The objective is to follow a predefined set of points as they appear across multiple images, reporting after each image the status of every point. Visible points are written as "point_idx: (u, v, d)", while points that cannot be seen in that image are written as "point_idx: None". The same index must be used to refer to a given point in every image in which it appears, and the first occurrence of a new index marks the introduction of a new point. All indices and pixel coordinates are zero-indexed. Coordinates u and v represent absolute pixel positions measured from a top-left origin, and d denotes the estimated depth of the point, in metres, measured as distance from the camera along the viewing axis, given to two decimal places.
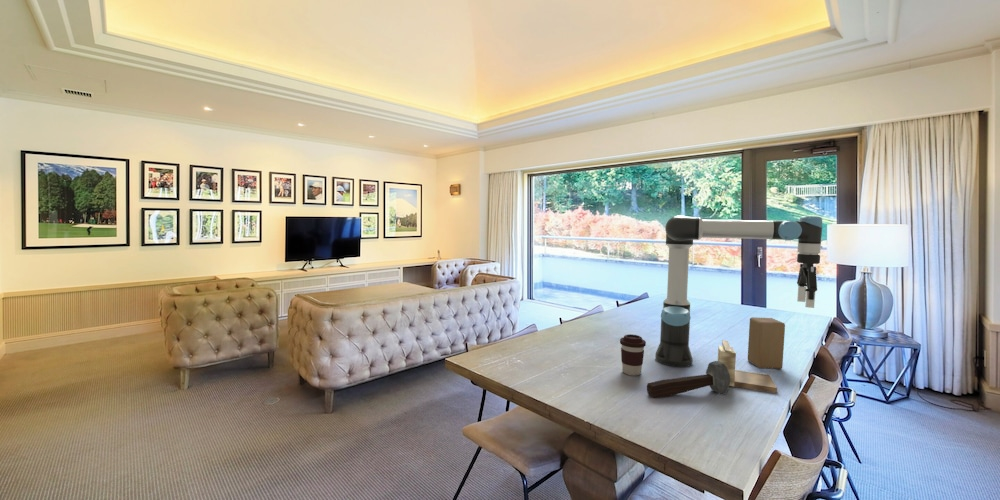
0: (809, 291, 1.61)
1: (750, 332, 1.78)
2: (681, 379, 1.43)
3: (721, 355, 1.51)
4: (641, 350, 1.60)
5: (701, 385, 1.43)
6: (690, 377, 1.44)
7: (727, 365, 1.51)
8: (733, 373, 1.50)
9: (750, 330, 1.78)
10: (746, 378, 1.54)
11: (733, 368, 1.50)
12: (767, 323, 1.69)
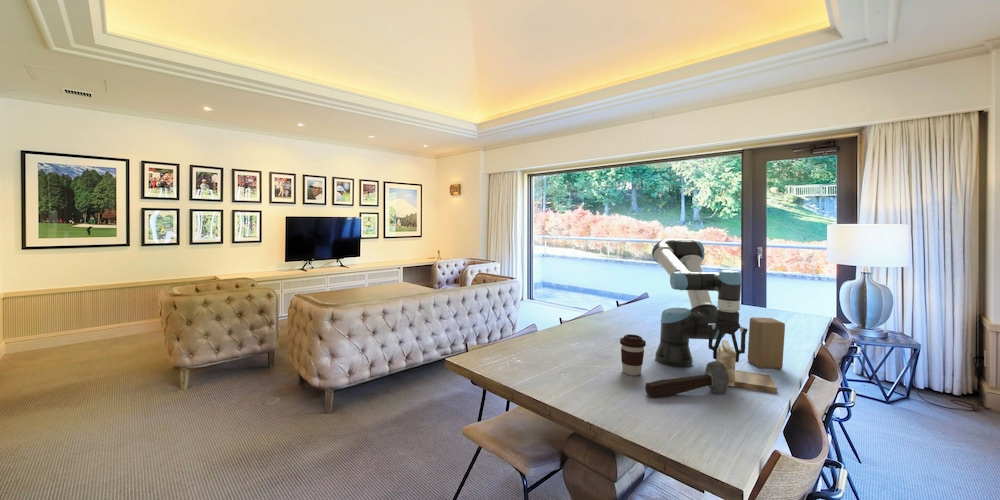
0: None
1: (750, 332, 1.78)
2: (680, 379, 1.43)
3: (721, 355, 1.51)
4: (641, 350, 1.60)
5: (700, 385, 1.43)
6: (689, 377, 1.44)
7: (727, 365, 1.51)
8: (733, 373, 1.50)
9: (750, 330, 1.78)
10: (746, 378, 1.54)
11: (733, 368, 1.50)
12: (767, 323, 1.69)
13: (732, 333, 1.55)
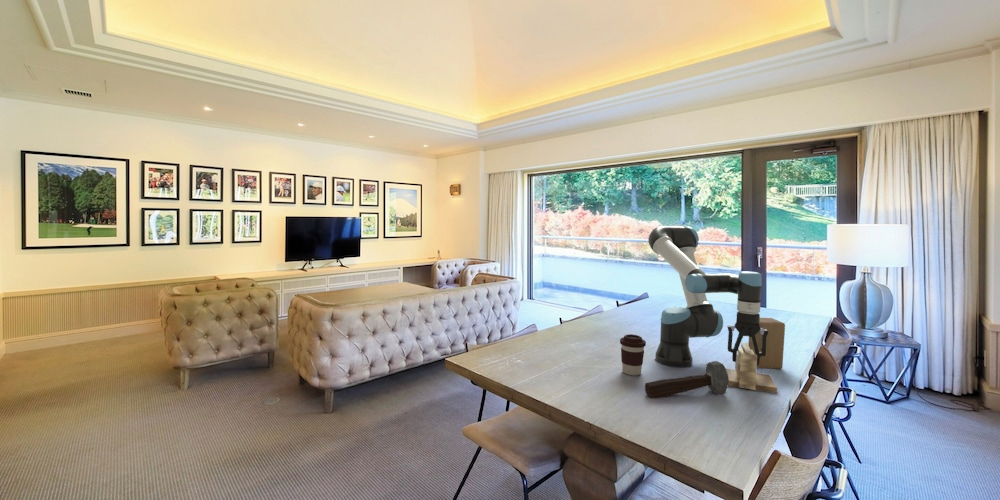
0: None
1: None
2: (679, 379, 1.43)
3: (742, 358, 1.49)
4: (641, 350, 1.60)
5: (699, 385, 1.43)
6: (688, 377, 1.44)
7: (748, 368, 1.48)
8: (754, 376, 1.47)
9: None
10: None
11: (754, 371, 1.47)
12: (767, 323, 1.69)
13: (752, 335, 1.53)
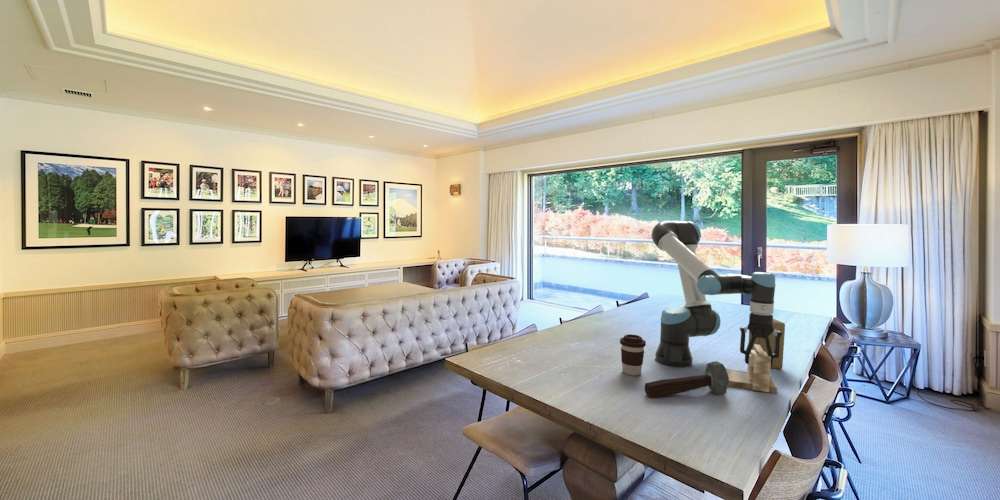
0: None
1: (750, 332, 1.78)
2: (679, 379, 1.43)
3: (755, 360, 1.47)
4: (641, 350, 1.60)
5: (699, 385, 1.43)
6: (688, 377, 1.44)
7: (762, 370, 1.46)
8: (768, 378, 1.45)
9: None
10: (746, 378, 1.54)
11: (768, 373, 1.45)
12: None
13: (766, 337, 1.51)
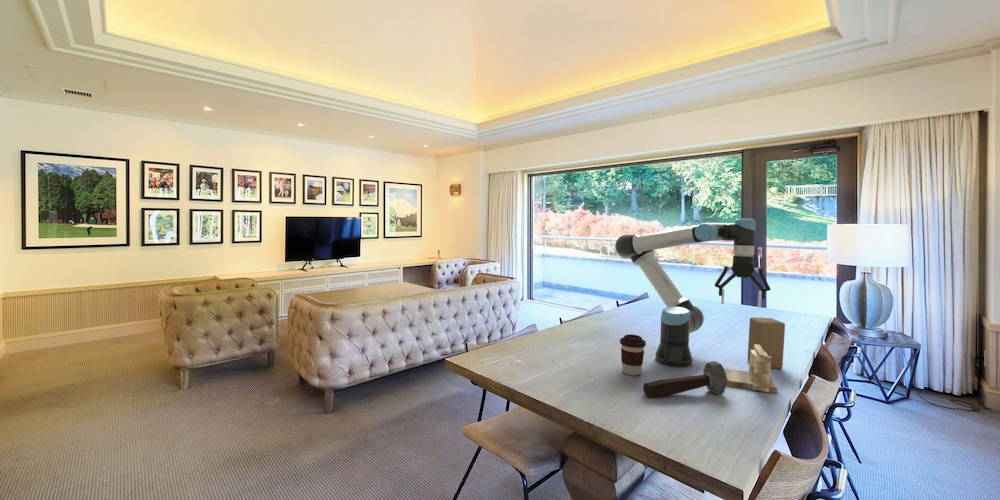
0: None
1: (750, 332, 1.78)
2: (678, 379, 1.43)
3: (755, 360, 1.47)
4: (641, 350, 1.60)
5: (698, 385, 1.43)
6: (687, 377, 1.44)
7: (762, 370, 1.46)
8: (768, 378, 1.45)
9: (750, 330, 1.78)
10: (746, 378, 1.54)
11: (768, 373, 1.45)
12: (767, 323, 1.69)
13: (750, 275, 1.67)
